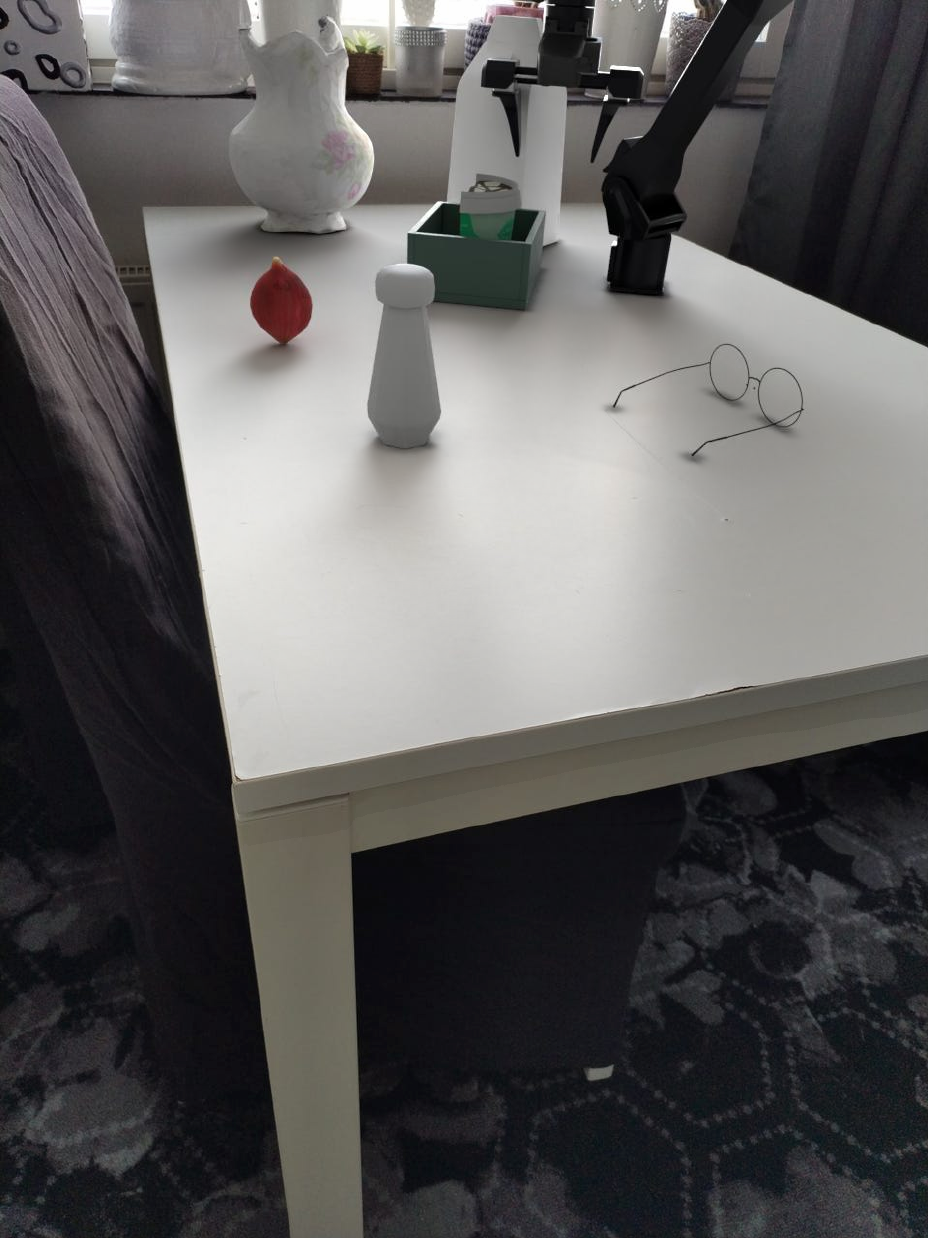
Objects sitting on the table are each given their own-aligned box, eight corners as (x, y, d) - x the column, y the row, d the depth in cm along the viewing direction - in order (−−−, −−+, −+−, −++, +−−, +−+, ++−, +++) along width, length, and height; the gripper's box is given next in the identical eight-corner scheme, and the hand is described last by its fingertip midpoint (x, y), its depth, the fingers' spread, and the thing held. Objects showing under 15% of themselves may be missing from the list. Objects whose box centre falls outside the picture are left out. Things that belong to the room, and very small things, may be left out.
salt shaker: (367, 421, 73) (364, 255, 65) (437, 422, 73) (442, 257, 65) (367, 452, 68) (364, 277, 60) (442, 453, 68) (448, 279, 61)
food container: (509, 292, 101) (517, 196, 95) (456, 287, 101) (460, 192, 95) (521, 264, 110) (528, 176, 105) (472, 260, 111) (477, 172, 105)
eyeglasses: (699, 462, 69) (713, 401, 66) (604, 403, 78) (613, 347, 75) (802, 439, 74) (820, 381, 71) (702, 386, 83) (714, 332, 80)
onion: (324, 338, 88) (320, 254, 83) (297, 357, 84) (291, 269, 79) (272, 329, 89) (265, 246, 85) (242, 347, 85) (234, 260, 80)
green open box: (540, 269, 113) (546, 210, 109) (525, 310, 99) (531, 244, 95) (436, 259, 114) (437, 200, 110) (406, 298, 100) (407, 232, 96)
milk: (558, 240, 126) (582, 20, 111) (518, 254, 118) (538, 19, 103) (486, 226, 131) (500, 14, 116) (443, 239, 123) (452, 12, 108)
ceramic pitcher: (272, 210, 137) (244, 16, 123) (395, 209, 135) (381, 11, 120) (223, 244, 120) (183, 23, 105) (362, 244, 118) (341, 18, 103)
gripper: (477, 1, 94) (469, 163, 104) (653, 13, 93) (629, 177, 102) (492, 0, 103) (483, 149, 113) (652, 10, 101) (630, 161, 111)
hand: (554, 159), depth 109 cm, fingers open, 9 cm apart
